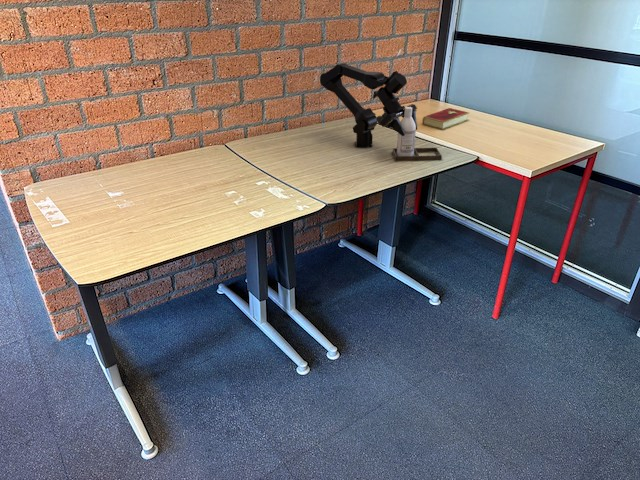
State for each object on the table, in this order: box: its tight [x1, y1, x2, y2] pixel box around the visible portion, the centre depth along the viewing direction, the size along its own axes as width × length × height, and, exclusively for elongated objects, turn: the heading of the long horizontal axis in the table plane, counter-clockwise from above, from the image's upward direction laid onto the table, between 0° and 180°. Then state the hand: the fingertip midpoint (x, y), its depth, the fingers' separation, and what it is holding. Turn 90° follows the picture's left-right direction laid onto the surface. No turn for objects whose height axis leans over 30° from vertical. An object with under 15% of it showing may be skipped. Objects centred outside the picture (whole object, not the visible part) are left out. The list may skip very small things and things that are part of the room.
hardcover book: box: [422, 107, 470, 131], centre depth 238 cm, size 12×21×4 cm, turn 132°
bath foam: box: [396, 106, 417, 156], centre depth 196 cm, size 7×7×20 cm
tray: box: [392, 147, 443, 162], centre depth 201 cm, size 18×10×2 cm, turn 91°
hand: (410, 132), depth 195 cm, fingers open, 9 cm apart
